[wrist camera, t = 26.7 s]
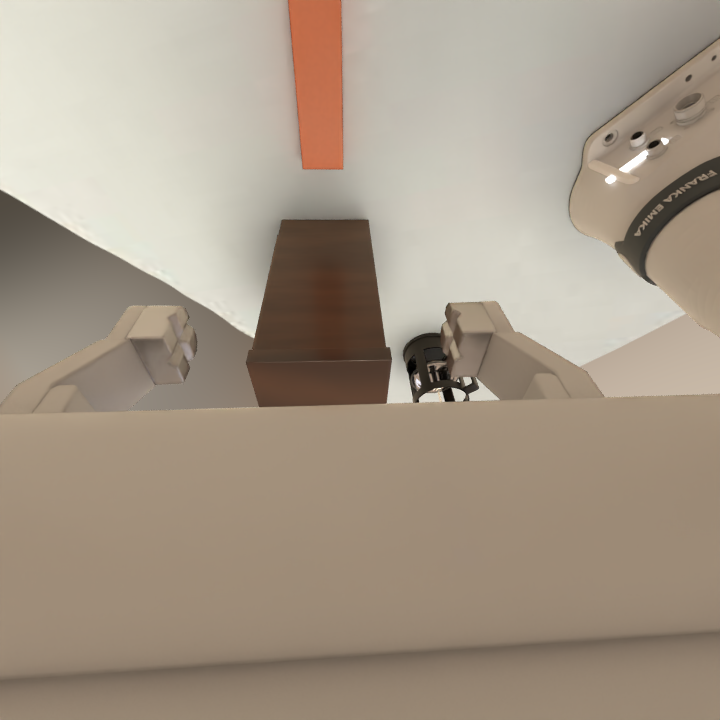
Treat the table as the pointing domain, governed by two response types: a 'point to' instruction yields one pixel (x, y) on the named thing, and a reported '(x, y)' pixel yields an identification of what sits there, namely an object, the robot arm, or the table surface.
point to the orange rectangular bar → (318, 80)
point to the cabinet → (321, 320)
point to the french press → (432, 371)
